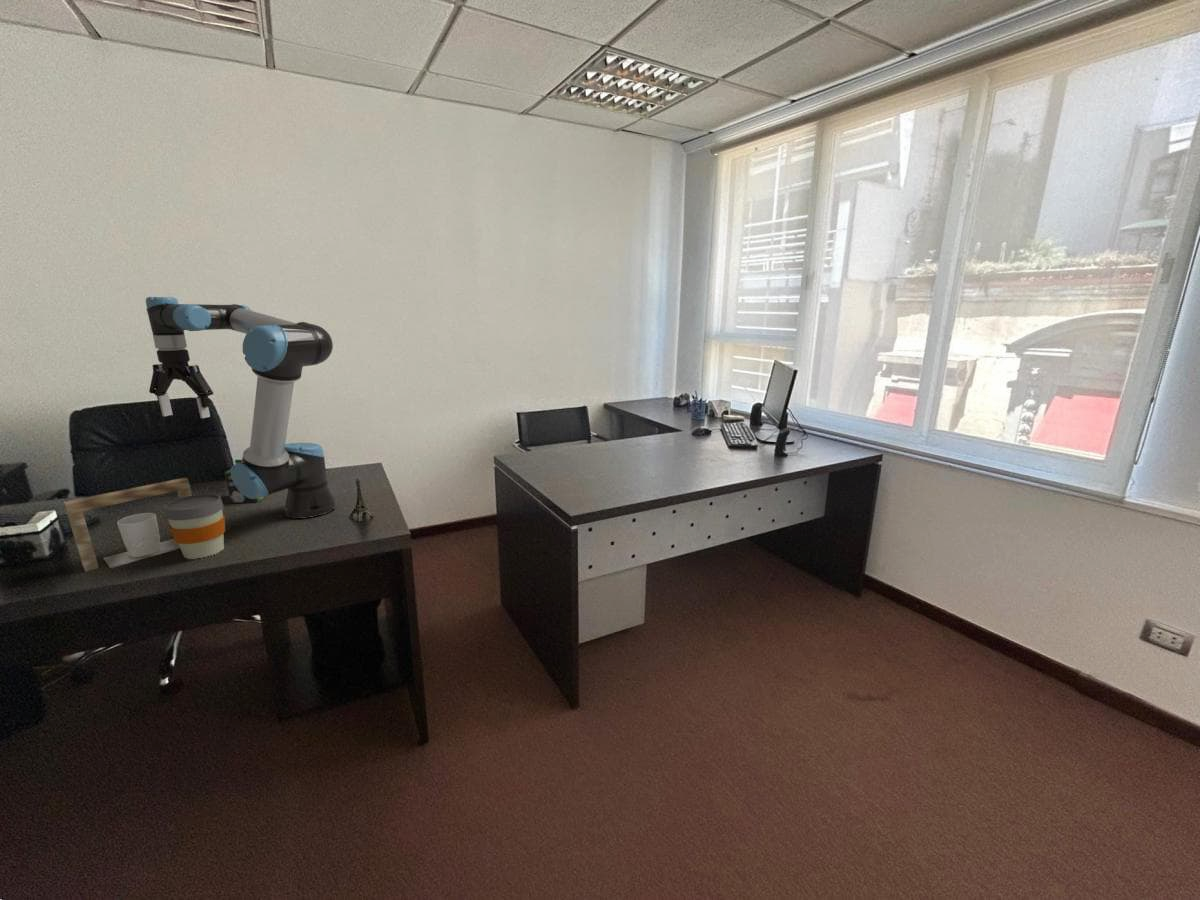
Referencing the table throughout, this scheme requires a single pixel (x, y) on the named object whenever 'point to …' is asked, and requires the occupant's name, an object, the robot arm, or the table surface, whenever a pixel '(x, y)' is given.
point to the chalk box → (234, 492)
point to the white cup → (140, 534)
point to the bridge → (83, 504)
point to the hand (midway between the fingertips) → (186, 416)
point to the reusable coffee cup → (197, 524)
